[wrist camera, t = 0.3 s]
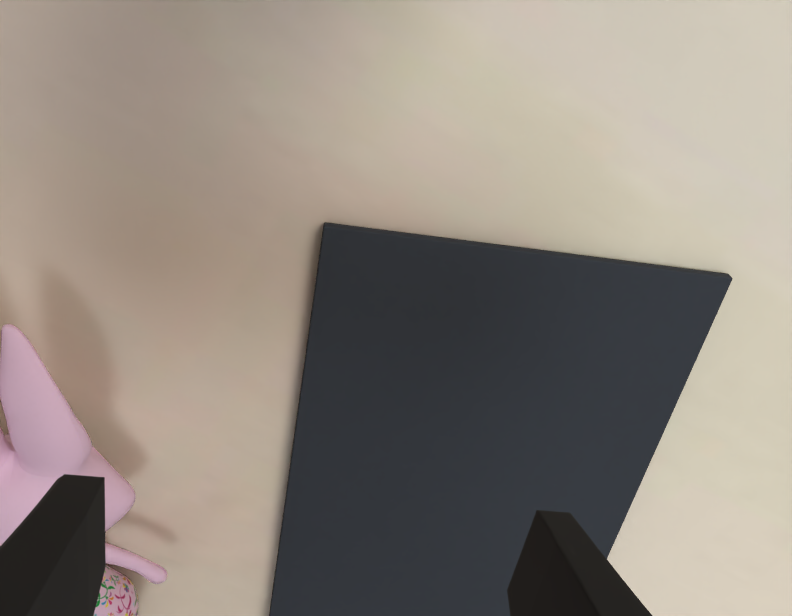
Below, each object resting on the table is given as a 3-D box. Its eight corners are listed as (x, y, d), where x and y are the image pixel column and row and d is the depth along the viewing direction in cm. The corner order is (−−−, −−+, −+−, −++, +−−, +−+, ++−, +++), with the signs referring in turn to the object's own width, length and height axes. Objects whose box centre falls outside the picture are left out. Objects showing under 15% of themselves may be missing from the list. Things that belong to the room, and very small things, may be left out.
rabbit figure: (192, 587, 29) (126, 281, 20) (168, 756, 25) (65, 465, 15) (24, 593, 29) (-130, 281, 19) (-32, 767, 24) (-273, 473, 14)
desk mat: (545, 685, 32) (547, 692, 32) (260, 676, 30) (260, 683, 30) (728, 273, 22) (732, 278, 22) (323, 221, 20) (324, 226, 20)
